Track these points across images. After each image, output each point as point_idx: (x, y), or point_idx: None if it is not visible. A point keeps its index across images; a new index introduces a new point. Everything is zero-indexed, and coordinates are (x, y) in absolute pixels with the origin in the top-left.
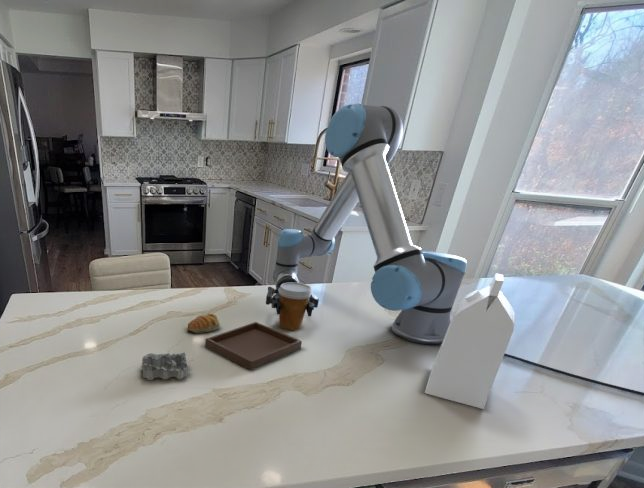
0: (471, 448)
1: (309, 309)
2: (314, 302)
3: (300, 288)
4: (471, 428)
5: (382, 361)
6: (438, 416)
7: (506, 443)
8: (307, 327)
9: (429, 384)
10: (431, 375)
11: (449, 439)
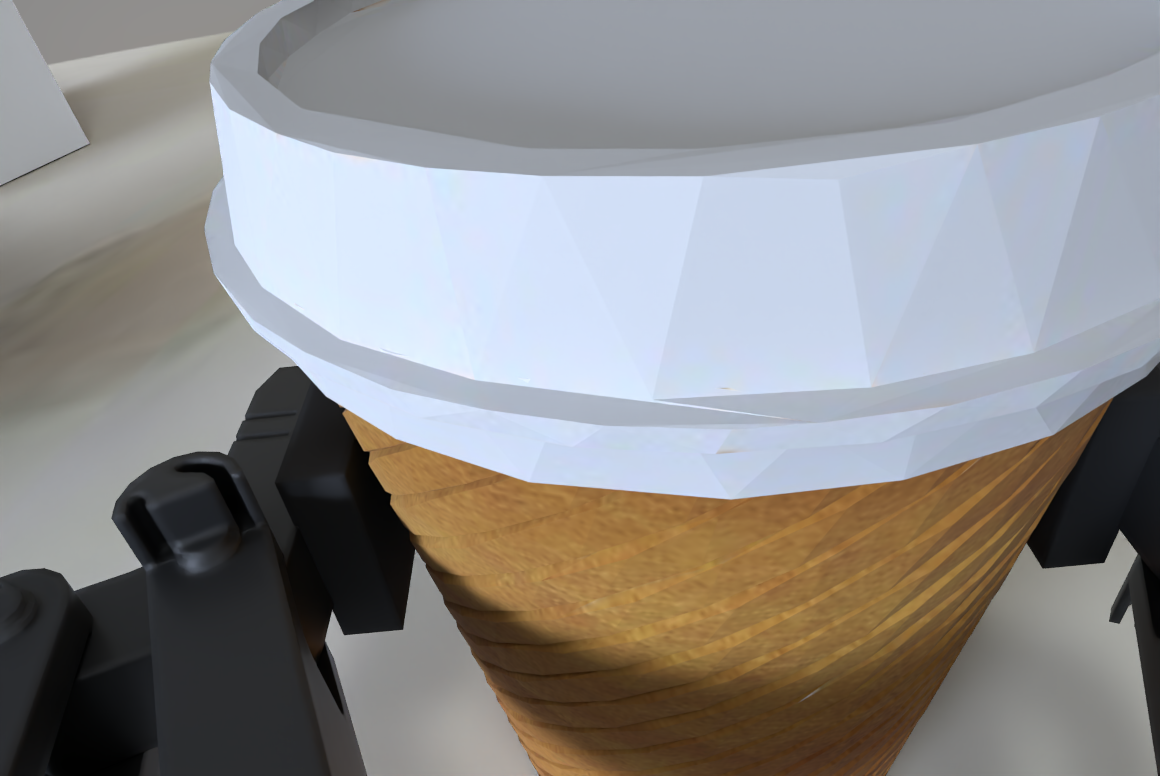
0: (186, 45)
1: None
2: (144, 589)
3: (548, 35)
4: (106, 78)
5: (52, 277)
6: (162, 87)
7: (68, 67)
8: (418, 722)
9: (62, 99)
10: (41, 56)
11: (217, 49)
